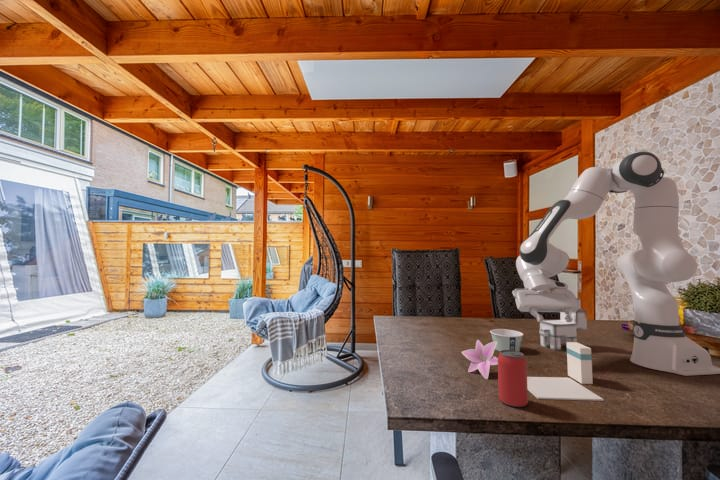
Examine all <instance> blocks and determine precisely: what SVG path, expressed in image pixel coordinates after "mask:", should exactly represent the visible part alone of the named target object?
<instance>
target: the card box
mask: <svg viewBox="0 0 720 480" xmlns="http://www.w3.org/2000/svg"><path fill="white" fill-rule="evenodd" d="M566 359H567V362H566V363H567V364H566V365H567V376H569V378H571V379H572V380H574V381H576V382H577V383H578V382H579V384H580V385H583V384H584V385H593V384H594V383H593V382H594V381H593V362H592V359H593V358H592V348H591V347H589V346H586V345H584V344H581V343H580V342H578V341H577V342H567V348H566Z"/></svg>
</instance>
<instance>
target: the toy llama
mask: <svg viewBox="0 0 720 480" xmlns="http://www.w3.org/2000/svg"><path fill="white" fill-rule="evenodd" d="M576 298H577V300H578V301H579V303H580V307H579V309H578V310H577V312H572V314H571V316H572V318H573V321H572V322H566V320H565V317H566V315H567V314H565V313H564V312H559V315H560V318H559V319H554V320H553V319H551V320H543V322H539V328H538V329H539V331H538V333H539V336H540V338H539V339H540V340H539V341H540V346H541V347H544V348H549V349H550V350H552V351H556V352H557V351H562V347H566V349H567V342H577V343H578V336H577V335H578V334H577V331H583V330H586V331H587V330H588V320H587V319H588V318H587V309H586V310H585V309H582V304H581V303H582V301H581V297H576Z"/></svg>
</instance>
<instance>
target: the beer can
mask: <svg viewBox="0 0 720 480" xmlns="http://www.w3.org/2000/svg"><path fill="white" fill-rule="evenodd" d="M497 358H498V364H497V384H498V399H499V401H500V402H502V403H503V404H505V405H507V406H510V407H515V408H523V407H525V406H527V405H528V403H529V397H528V395H529V394H528V388H527V377H528V363H527V361H526V359H525V354H524V353H523V352H520V351H519V352H518V351H514V350H501V351H499V355H498V357H497Z"/></svg>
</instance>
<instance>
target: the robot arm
mask: <svg viewBox="0 0 720 480" xmlns="http://www.w3.org/2000/svg"><path fill="white" fill-rule="evenodd" d="M664 175H665V171H664V169H663V167H662V163H661V160H660V159H659V157H658V156H656V154H654V153H652V152H649V151H638V152H634V153H630V154H628V155H626V156H625V157H623V158H622V159H620V160H617V161H616V162H615V163H614V164H613V165H612V166H609V168H605V167H600V166H592V167H588V168H586V169H585V170H584V171H583V172H582V173H580V175H579V176H578V177H577V179H576V180H575V181H574V183H573V185H572V186H571V188H570V189H569V191H568V193H567V194H566V195H565V197H563V199H560V200H558V201H556V202H555V203H554V204H553V205H552V206H551V207H550V208H549V210H548V211H547V212H546V214H545V215H544V216H543V217H542V218H541V220H540V221H539V223H538V224H537V225H536V226H535V228H534V230H532V232H531V233H530V235H528V237H526V238H525V239H524V240H523V241H522V242H521V244H520V246H519V256H517V258H516V260H515V267H516V270H517V273H518V276H519V278H520V280H521V281H522V282H523V287H524V288H518V287H517V288H514V289H513V290H512V292H511V294H512V297H513V298H514V299H515V300H514V301H515V304H516V308H517V310H519V312H520V313H521V312H523V313H530V315H531V316H533V317H534V318H535V319H536V321H537V323H540V322H543V321H545V320H544V317H543V314H539V313H560V312H564V313H565V314H567V315H566V317H565V320H566V322H572V321H573V318H572V316H571V314H572V312H577V310H578V309H579V307H580V303H579V301H578V300H577V298H578V297H576V295H575V294H574V293H573V292H572V291H571V290H570V289H568V288H569V286H568V284H567V283H566V282H563V281H562V282H561V281H558V280H554V279H551V278H552V277H553V278H554V277H556V276H558V275H560V273H563V272H564V271H566V269H567V268H568V266H569V264H570V256H569V255H568V253H567V252H565V251H564V250H562V249H561V248H559V247H557V246H556V245H554V244H552V243H550V238H551V237H552V236H553V234H554V233H555V232H556V230H557V229H558V228H559V226H560V225H561V224H562V223H563V222H564V221H565V220H568V219H569V220H571V219H572V220H586V219H589V218H591V217H593V216H595V214H597V212H599V210H600V208H601V206H602V205H603V203H604V202H605V199H606V198H607V195H608V194H609V193H614V194H623V193H626V192H628V191H631V193H632V195H633V196H634V201H635V202H634V207H633V225H632V226H633V227H632V228H633V229H632V230H633V233H634V234H635V235H636V236H638V238H639V240H640V244H641V248H642V249H633V250H630V251H627V252H624V253H622V254H621V255H620V256H619V257H618V259H617V261H616V267H617V270H618V271H619V273H620V274H622V276H623V277H624V279H625V281H626V283H627V286H628V289H629V292H630V293H631V298H632V307H633V308H632V310H633V320H632V331H633V335H634V337H633V346H632V351H631V356H630V359H629V361H630V362H631V363H633V364H634V365H637V366H640V367H643V368H647V369H652V370H657V371H661V372H665V373H666V372H667V373H672V374H676V375H679V376H680V375H681V376H703V375H704V376H705V375H720V367H719V366H716V365H713V363H712V357H711V355H710V352H708V350H707V349H705V348H704V347H702V346H701V345H699V344H698V343H696V342H695V341H693V340H692V339H691V338H689V337H687V334H686V333H688V334H694V332H695V331H696V330H695V329H694V327H692V326H687V325H684V326H682V325H681V324H680V311H679V302H678V300H677V298H676V297H675V296H674V295H673V294H672V293H671V292H670V290H669V289H668V287H667V284H666V283H678V282H684V281H688V280H689V279H692V278H693V277H694V276H695V274H696V273H697V270H698V262H697V260H696V259H695V257H694V256H693V255H692V254H690V253H689V252H688V251H687V250H686V248H685V247H684V245H683V242H682V240H681V236H680V233H679V211H680V210H679V208H680V207H679V205H680V203H679V202H680V201H679V191H678V188H677V183H676V181H675V180H673V179H672V178H669V177H667V176H664Z"/></svg>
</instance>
